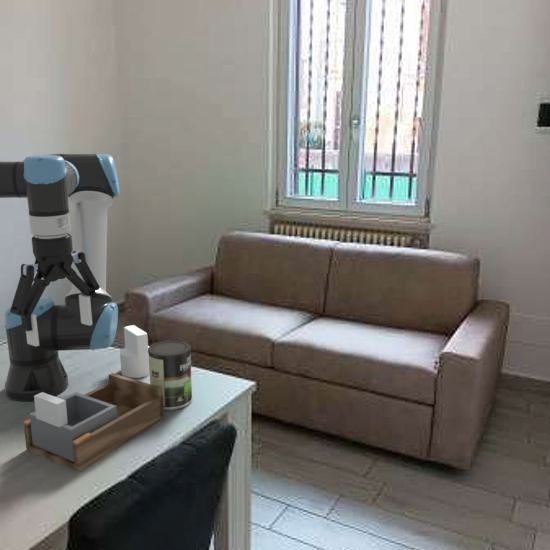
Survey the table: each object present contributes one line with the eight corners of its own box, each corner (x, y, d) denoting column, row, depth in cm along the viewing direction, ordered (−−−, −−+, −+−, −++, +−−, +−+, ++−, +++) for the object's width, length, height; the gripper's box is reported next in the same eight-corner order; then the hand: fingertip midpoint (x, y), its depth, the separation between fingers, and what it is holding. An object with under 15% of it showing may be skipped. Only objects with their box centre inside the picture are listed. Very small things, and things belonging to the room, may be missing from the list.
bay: (26, 449, 124) (22, 414, 122) (114, 403, 145) (112, 373, 143) (78, 472, 116) (75, 435, 114) (164, 419, 137) (162, 388, 135)
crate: (30, 445, 123) (25, 392, 120) (78, 420, 133) (74, 371, 130) (72, 463, 116) (67, 407, 113) (118, 435, 127) (115, 384, 124)
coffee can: (198, 393, 150) (196, 341, 147) (184, 412, 140) (182, 357, 137) (160, 389, 152) (157, 338, 149) (143, 408, 142) (140, 353, 139)
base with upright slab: (115, 369, 165) (113, 329, 162) (145, 362, 170) (143, 322, 167) (129, 380, 158) (126, 338, 155) (159, 372, 163) (157, 331, 160)
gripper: (7, 249, 105) (20, 358, 111) (111, 226, 126) (118, 319, 132) (-19, 244, 109) (-5, 350, 115) (87, 222, 129) (94, 313, 135)
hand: (61, 334), depth 123 cm, fingers open, 13 cm apart
